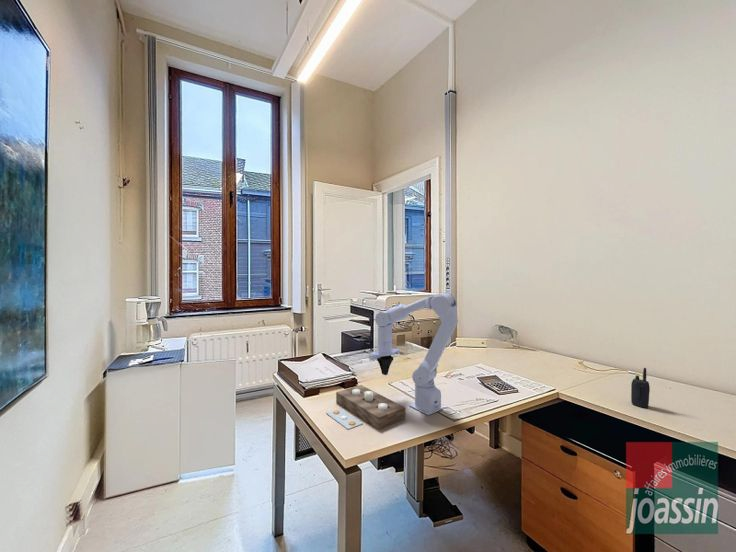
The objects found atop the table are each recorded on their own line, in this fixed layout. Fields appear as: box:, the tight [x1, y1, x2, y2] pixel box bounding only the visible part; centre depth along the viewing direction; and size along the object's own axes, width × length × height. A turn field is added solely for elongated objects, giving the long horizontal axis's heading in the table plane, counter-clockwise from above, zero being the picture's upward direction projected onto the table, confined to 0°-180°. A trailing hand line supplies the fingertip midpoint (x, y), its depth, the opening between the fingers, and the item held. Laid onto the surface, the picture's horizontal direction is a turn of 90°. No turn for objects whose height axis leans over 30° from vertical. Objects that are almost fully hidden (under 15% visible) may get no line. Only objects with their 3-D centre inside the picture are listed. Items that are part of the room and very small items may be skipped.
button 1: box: [352, 389, 360, 395], centre depth 124 cm, size 3×3×4 cm
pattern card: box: [326, 408, 364, 430], centre depth 111 cm, size 14×6×1 cm, turn 38°
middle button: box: [365, 390, 373, 402], centre depth 118 cm, size 3×3×4 cm
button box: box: [335, 384, 406, 430], centre depth 118 cm, size 26×12×4 cm, turn 38°
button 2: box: [378, 403, 387, 411], centre depth 112 cm, size 3×3×4 cm
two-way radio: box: [630, 367, 651, 409], centre depth 122 cm, size 6×4×15 cm
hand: (384, 374), depth 129 cm, fingers closed
